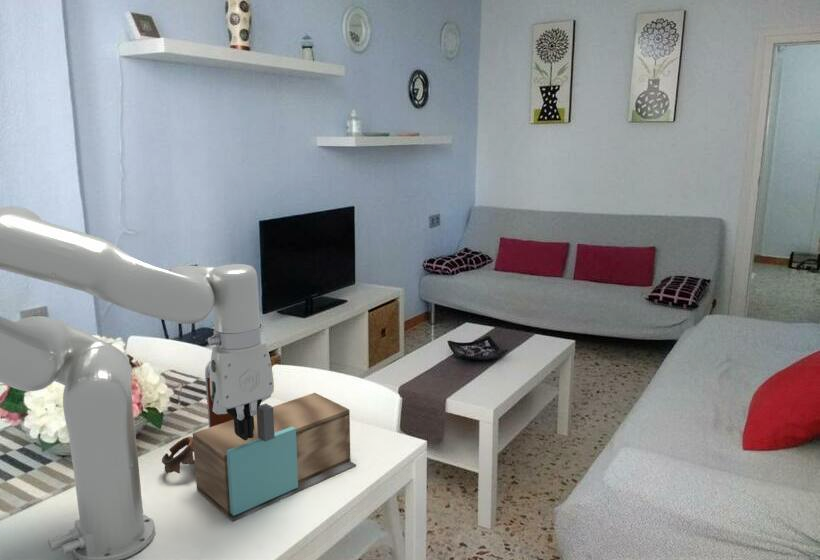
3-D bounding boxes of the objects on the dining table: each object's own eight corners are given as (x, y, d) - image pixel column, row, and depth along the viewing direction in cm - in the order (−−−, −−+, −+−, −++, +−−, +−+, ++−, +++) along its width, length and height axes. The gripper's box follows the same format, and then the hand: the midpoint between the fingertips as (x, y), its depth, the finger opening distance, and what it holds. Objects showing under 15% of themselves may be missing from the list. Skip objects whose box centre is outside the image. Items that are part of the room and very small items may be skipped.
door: (235, 517, 112) (229, 421, 108) (228, 511, 114) (222, 417, 110) (299, 488, 121) (296, 399, 117) (292, 483, 123) (289, 395, 119)
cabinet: (232, 521, 112) (228, 459, 109) (196, 490, 122) (192, 433, 119) (355, 466, 131) (355, 412, 128) (316, 443, 141) (314, 392, 138)
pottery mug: (208, 488, 123) (183, 458, 121) (173, 500, 127) (148, 471, 124) (234, 446, 134) (211, 417, 131) (201, 458, 137) (178, 430, 135)
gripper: (207, 353, 100) (215, 459, 104) (287, 332, 110) (292, 430, 114) (186, 342, 105) (195, 443, 109) (264, 323, 115) (270, 417, 120)
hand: (244, 436), depth 112 cm, fingers closed
